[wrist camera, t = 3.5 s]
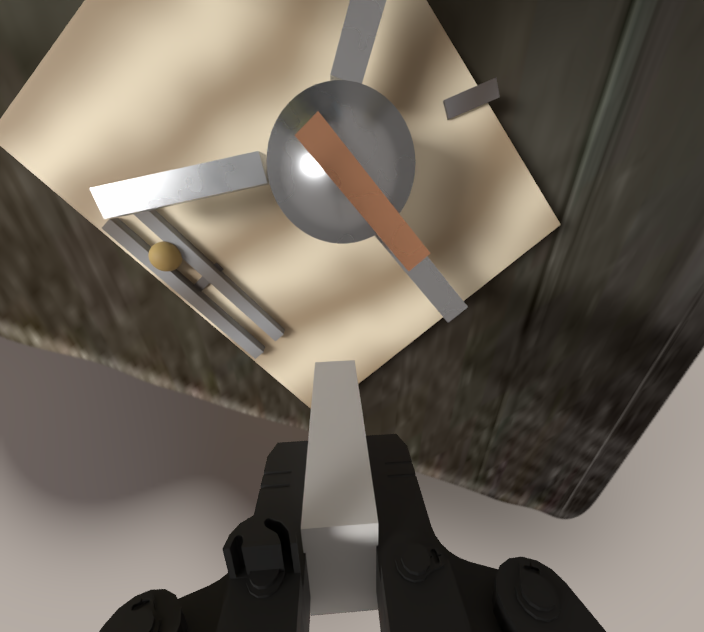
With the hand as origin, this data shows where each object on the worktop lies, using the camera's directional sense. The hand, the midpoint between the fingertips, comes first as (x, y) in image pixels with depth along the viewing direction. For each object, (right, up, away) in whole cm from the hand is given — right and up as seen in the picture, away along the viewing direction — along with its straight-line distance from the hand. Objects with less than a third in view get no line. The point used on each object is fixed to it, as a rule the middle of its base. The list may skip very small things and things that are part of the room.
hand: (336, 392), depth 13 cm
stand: (-3, +12, +9) cm, 15 cm away
